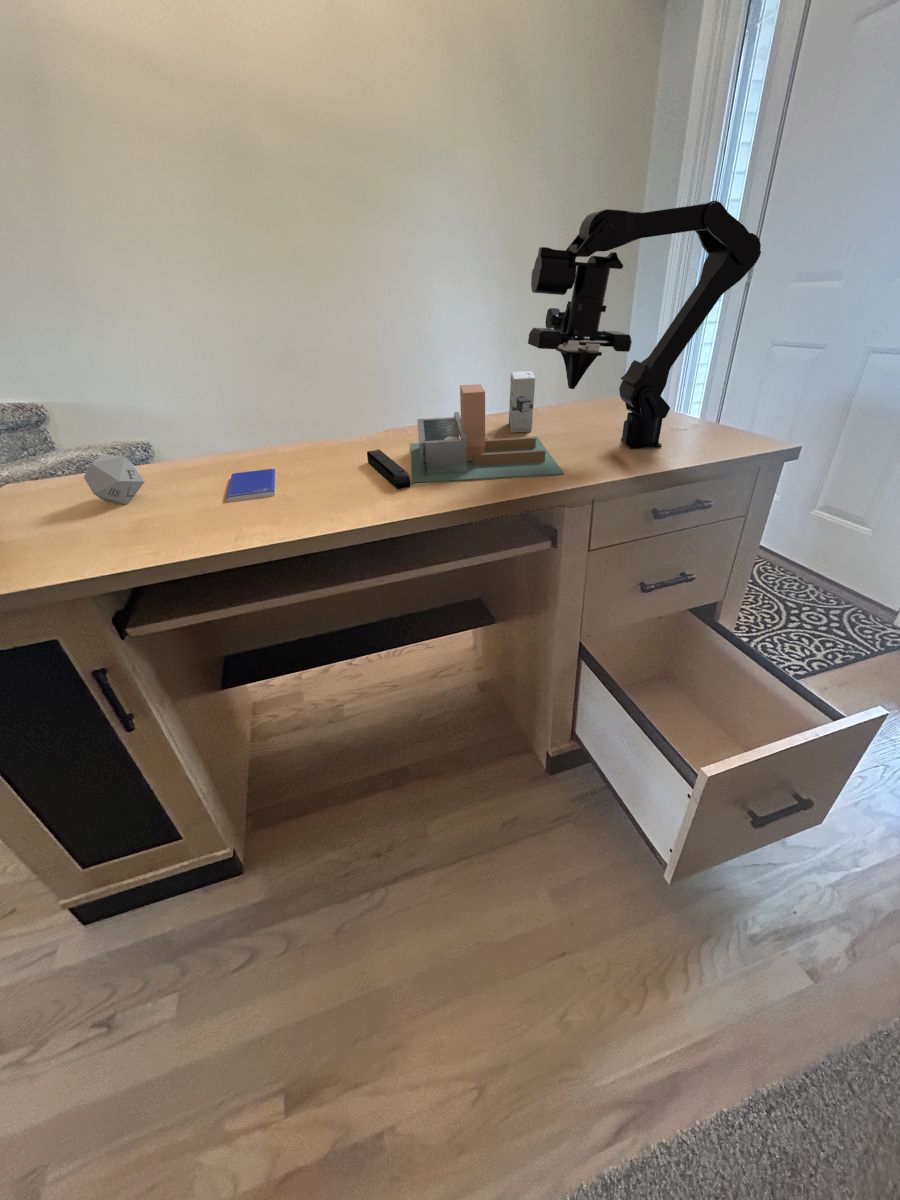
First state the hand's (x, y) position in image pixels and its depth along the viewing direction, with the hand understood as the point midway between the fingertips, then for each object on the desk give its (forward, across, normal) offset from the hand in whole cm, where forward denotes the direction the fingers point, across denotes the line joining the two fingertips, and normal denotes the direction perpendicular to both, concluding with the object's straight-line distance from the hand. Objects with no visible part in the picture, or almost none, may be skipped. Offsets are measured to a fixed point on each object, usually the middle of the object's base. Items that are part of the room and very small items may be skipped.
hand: (571, 388), depth 103 cm
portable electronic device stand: (+16, +36, +2) cm, 40 cm away
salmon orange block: (+14, +19, 0) cm, 23 cm away
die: (+21, +84, -2) cm, 86 cm away
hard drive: (+19, +61, 0) cm, 64 cm away
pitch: (+14, +17, 0) cm, 22 cm away
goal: (+14, +25, -2) cm, 29 cm away
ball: (+12, +23, -1) cm, 26 cm away
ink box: (+13, +2, -19) cm, 23 cm away
